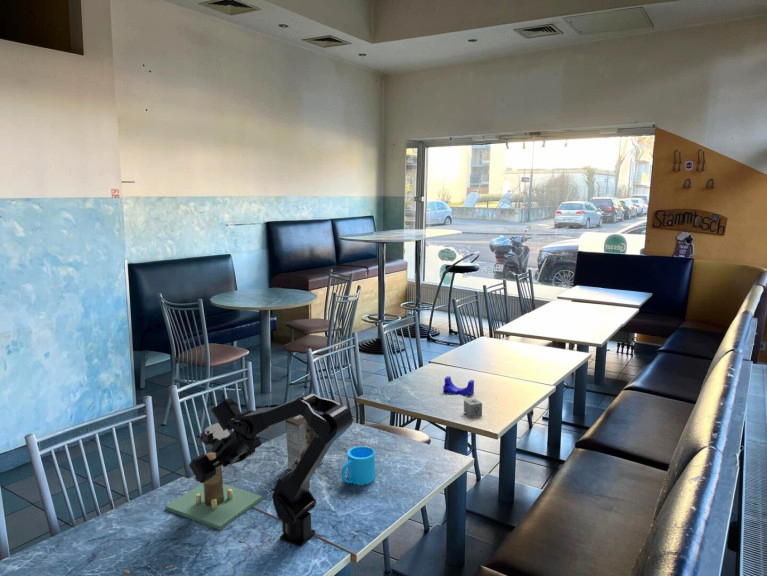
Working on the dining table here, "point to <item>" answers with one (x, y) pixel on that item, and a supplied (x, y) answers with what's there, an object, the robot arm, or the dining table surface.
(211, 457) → the walnut cylinder
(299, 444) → the coffee box
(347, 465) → the mug
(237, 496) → the standoff plate
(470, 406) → the dice cube
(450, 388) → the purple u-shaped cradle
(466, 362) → the dining table surface
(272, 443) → the dining table surface
